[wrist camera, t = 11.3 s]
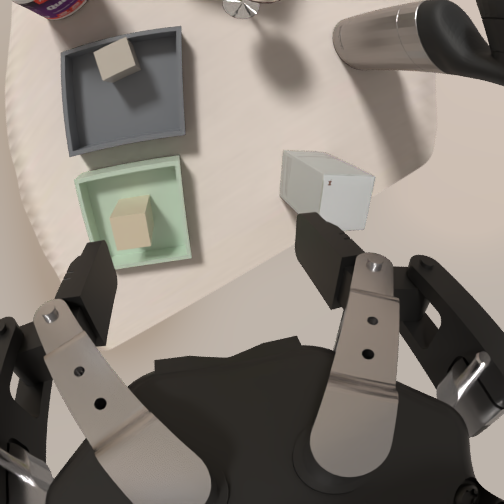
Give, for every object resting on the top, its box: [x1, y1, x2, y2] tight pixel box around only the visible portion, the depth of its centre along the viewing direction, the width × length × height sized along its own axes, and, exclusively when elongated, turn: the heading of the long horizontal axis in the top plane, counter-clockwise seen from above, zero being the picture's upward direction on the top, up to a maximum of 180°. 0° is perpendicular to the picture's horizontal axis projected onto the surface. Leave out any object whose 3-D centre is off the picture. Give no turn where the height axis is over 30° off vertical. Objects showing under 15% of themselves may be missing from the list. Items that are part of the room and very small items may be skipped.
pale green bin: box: [74, 155, 192, 269], centre depth 36 cm, size 14×14×4 cm
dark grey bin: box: [61, 26, 186, 157], centre depth 27 cm, size 15×14×4 cm
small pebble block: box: [93, 37, 141, 83], centre depth 23 cm, size 4×4×5 cm
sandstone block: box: [109, 195, 154, 251], centre depth 34 cm, size 4×4×6 cm
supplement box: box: [280, 150, 375, 231], centre depth 35 cm, size 7×7×13 cm
